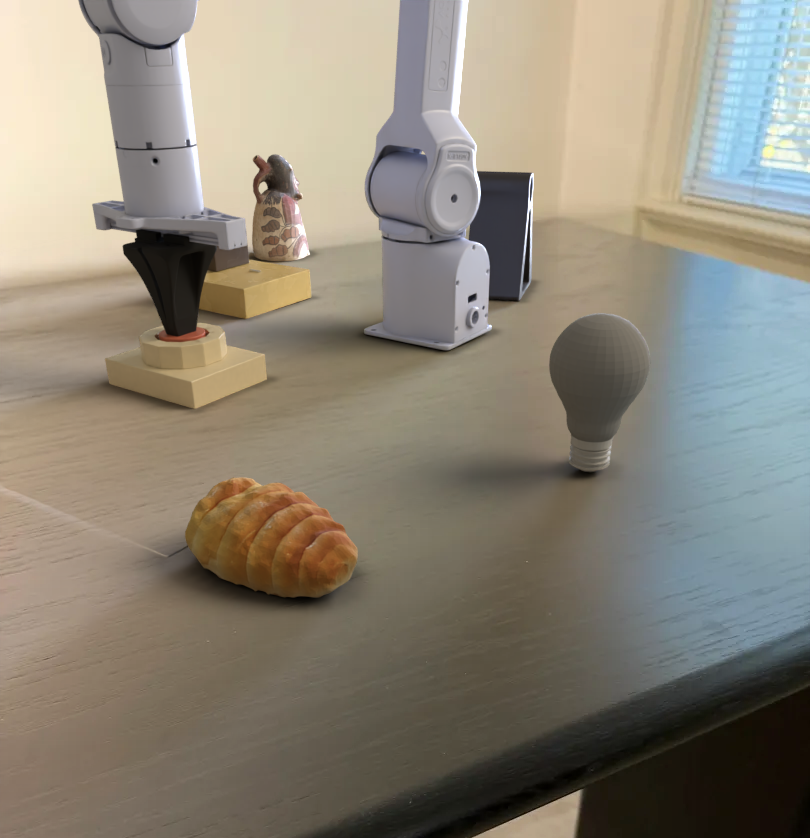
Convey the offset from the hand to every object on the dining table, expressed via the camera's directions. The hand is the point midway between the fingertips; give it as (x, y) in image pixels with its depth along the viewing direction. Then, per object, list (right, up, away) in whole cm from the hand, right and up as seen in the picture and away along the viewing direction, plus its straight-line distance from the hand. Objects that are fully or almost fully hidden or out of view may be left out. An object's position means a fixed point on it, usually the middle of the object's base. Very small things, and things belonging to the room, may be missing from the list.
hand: (181, 332), depth 70 cm
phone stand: (+28, +11, +27) cm, 41 cm away
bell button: (0, -1, +1) cm, 2 cm away
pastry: (+11, -18, -22) cm, 31 cm away
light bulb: (+30, -12, -13) cm, 34 cm away
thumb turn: (-1, +13, +25) cm, 28 cm away
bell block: (0, -4, +2) cm, 4 cm away
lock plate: (0, +9, +25) cm, 26 cm away
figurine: (+2, +20, +44) cm, 48 cm away
